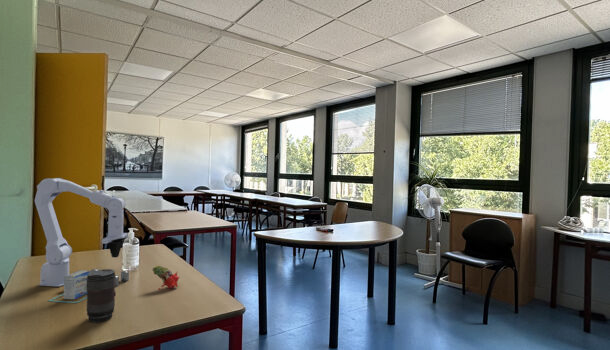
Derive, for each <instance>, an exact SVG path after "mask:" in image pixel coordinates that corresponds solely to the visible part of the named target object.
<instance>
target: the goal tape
mask: <svg viewBox="0 0 610 350" xmlns="http://www.w3.org/2000/svg"><path fill="white" fill-rule="evenodd" d="M61 296H64V293H62V294H60V295H58V296H55V297H52V298H51V299H49V300H47V302H54V303H66V304H67V303H68V304H71V303H72V304H78V303H80V302H82V301H84V300H87V296H86V297H84V298H82V299H79V300H78V301H65V300H55V299H57V298H60V297H61Z"/></svg>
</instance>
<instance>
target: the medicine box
mask: <svg viewBox="0 0 610 350" xmlns="http://www.w3.org/2000/svg"><path fill="white" fill-rule="evenodd" d="M88 273H90V270H86V269H85V270H77V271H75V272H73V273H69V275H67V276H64V285H63V294H64V295H63V300H72V301H73V300H77V299H79V298H81V297H83V296H84V295H87V275H88Z"/></svg>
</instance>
